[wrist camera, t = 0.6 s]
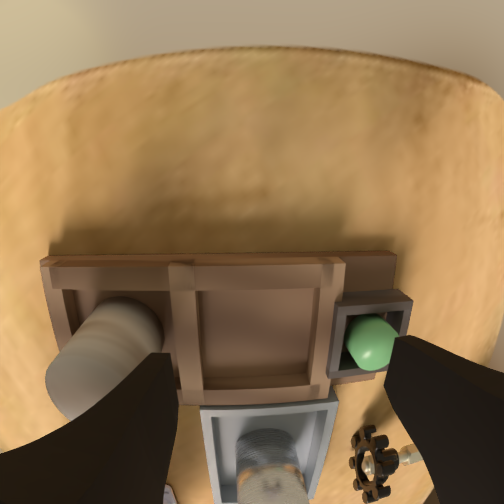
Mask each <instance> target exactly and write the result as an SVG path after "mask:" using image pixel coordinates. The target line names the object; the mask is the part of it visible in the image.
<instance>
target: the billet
mask: <svg viewBox="0 0 504 504" xmlns="http://www.w3.org/2000/svg"><path fill="white" fill-rule="evenodd" d="M235 464H236V482H237V499H238V504H309V500H308V496H307V492H306V488H305V484H304V480H303V476H302V472H301V468H300V464H299V460H298V456H297V452H296V447H295V443H294V440H293V438H292V436H291V435H290V434H289V433H287V432H285V431H283V430H280V429H274V428H263V429H257V430H253V431H250V432H248V433H246V434H244V435H243V436H241V437H240V438H239V439H238V440H237V442H236V444H235Z"/></svg>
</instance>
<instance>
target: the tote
mask: <svg viewBox="0 0 504 504" xmlns="http://www.w3.org/2000/svg"><path fill="white" fill-rule="evenodd" d="M338 403H339V400H338V398H337V396H336V394H335V391H334V389H333V387H332V385H330V387H329V393H328V398H325V399H316V400H307V401H297V402H285V403H271V404H252V405H200V416H201V423H202V431H203V438H204V445H205V451H206V458H207V464H208V470H209V476H210V482H211V488H212V493H213V499H214V504H238V499H237V482H236V464H235V444H236V442H237V440H238V439H239V438H240V437H241V436H243V435H244V434H246V433H248V432H250V431H253V430H257V429H263V428H274V429H280V430H283V431H285V432H287V433H289V434H290V435H291V436H292V438H293V440H294V443H295V447H296V452H297V456H298V460H299V464H300V468H301V472H302V476H303V480H304V484H305V488H306V492H307V496H308V500H310V499H313V498H314V495H315V492H316V489H317V485H318V482H319V478H320V475H321V472H322V468H323V464H324V461H325V457H326V453H327V450H328V446H329V442H330V438H331V434H332V430H333V425H334V421H335V417H336V413H337V408H338Z"/></svg>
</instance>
